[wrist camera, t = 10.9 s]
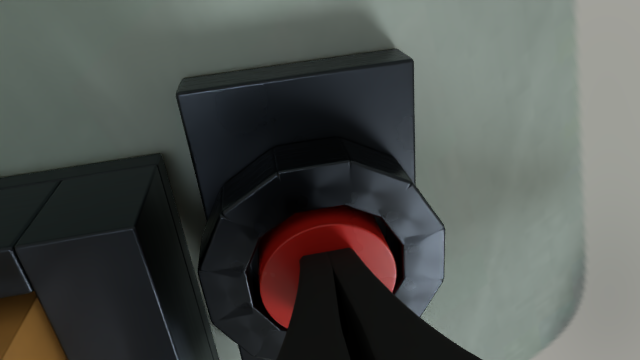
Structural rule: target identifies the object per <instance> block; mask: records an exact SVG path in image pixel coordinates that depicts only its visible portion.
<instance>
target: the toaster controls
mask: <svg viewBox="0 0 640 360" xmlns="http://www.w3.org/2000/svg"><path fill="white" fill-rule="evenodd" d="M176 99H177V103H178V107H179V111H180V115H181V119H182V123H183V127H184V131H185V135H186V139H187V143H188V147H189V151H190V155H191V159H192V163H193V167H194V171H195V175H196V179H197V183H198V187H199V191H200V195H201V199H202V203H203V207H204V211H205V215H206V219H207V225H206V227H205V230H204V232H203V235H202V240H201V248H200V256H199V264H198V276H199V280H200V283H201V287H202V290H203V294H204V298H205V301H206V305H207V308H208V312H209V316H210V319H211V322H212V323H213V325H215V326H216V327H217V328H218V329H220V330H221V331H222V332H223V333H225V334H226V335H227V336H228V337H229V338H231V339H232V340H233V341H234V342H236V343H237V344H238V347H239V351H240V355H241V359H242V360H276V359H277V357H278V355H279V352H280V349H281V347H282V344H283V341H284V338H285V335H286V332H287V328H285V327H284V326H282V325H280V324H279V323H278V322H277V321H275V320H274V319H273V318H272V317H271V316H270V314H269V313H268V311H267V310H266V309H265V307H264V304H263V302H262V299H261V296H260V288H259V272H258V256H257V247H258V245H259V243H260V240H261V238H262V237H263V236H264V235H266V234H267V233H269V232H270V231H271V230H273V229H274V228H276V227H277V226H278V225H280V224H281V223H283V222H284V221H285V220H287V219H288V218H289V217H291V216H292V215H294V214H295V213H300V212H306V211H311V210H317V209H323V208H329V207H335V206H341V205H343V206H346V207H349V208H352V209H355V210H358V211H362V212H365V213H368V214H371V215H373V216H374V218H375V220H376V222H377V224H378V226H379V228H380V230H381V232H382V234H383V236H384V238H385V240H386V242H387V244H388V246H389V248H390V250H391V252H392V254H393V256H394V259H395V263H396V270H397V271H396V281H395V286H394V289H393V292H392V293H393V294H394V295H395V296H396V297H397V298H398V299H399V300H400V301H402V302H403V303H404V304H405V305H406V306H407V307H408V308H409V309H411V310H412V311H413V312H414V313H415V314H417V315H418V316H419V317H421V315H422V314H423V312H424V310H425V309H426V307H427V306H428V304H429V303H430V301H431V299H432V298H433V296H434V295H435V293H436V292H437V290H438V288H439V287H440V285H441V284H442V282H443V279H444V255H445V228H444V224H443V223H442V222H441V220H440V219H439V217H438V216H437V215H436V213H435V212H434V211H433V209H432V208H431V206H430V205H429V204H428V202H427V201H426V199H425V198H424V197H423V195H422V194H421V193H420V191H419V190H418V188H417V187H416V185H415V116H414V61H413V59H412V58H410V57H409V56H407V55H406V54H404V53H403V52H402V51H400V50H399V49H391V50H384V51H377V52H370V53H363V54H356V55H349V56H341V57H334V58H327V59H320V60H313V61H306V62H299V63H292V64H285V65H278V66H271V67H264V68H257V69H250V70H242V71H235V72H228V73H221V74H214V75H207V76H200V77H193V78H186V79H182V80H181V82H180V85H179V87H178V90H177V92H176Z"/></svg>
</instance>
